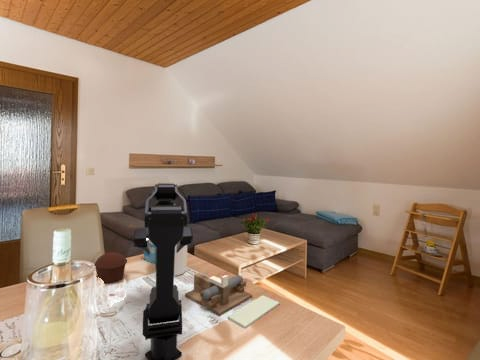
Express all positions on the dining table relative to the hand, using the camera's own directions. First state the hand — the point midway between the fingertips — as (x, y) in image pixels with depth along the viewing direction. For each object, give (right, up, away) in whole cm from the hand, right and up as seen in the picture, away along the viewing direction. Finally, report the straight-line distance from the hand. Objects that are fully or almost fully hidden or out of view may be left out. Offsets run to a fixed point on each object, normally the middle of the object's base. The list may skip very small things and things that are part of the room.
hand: (163, 252), depth 93 cm
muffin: (-24, -13, +11) cm, 29 cm away
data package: (-12, -12, +30) cm, 35 cm away
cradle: (+19, -15, 0) cm, 25 cm away
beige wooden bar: (+20, -9, -4) cm, 22 cm away
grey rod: (+21, -11, -2) cm, 24 cm away
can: (-2, -13, +20) cm, 24 cm away
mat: (+32, -17, -8) cm, 37 cm away
